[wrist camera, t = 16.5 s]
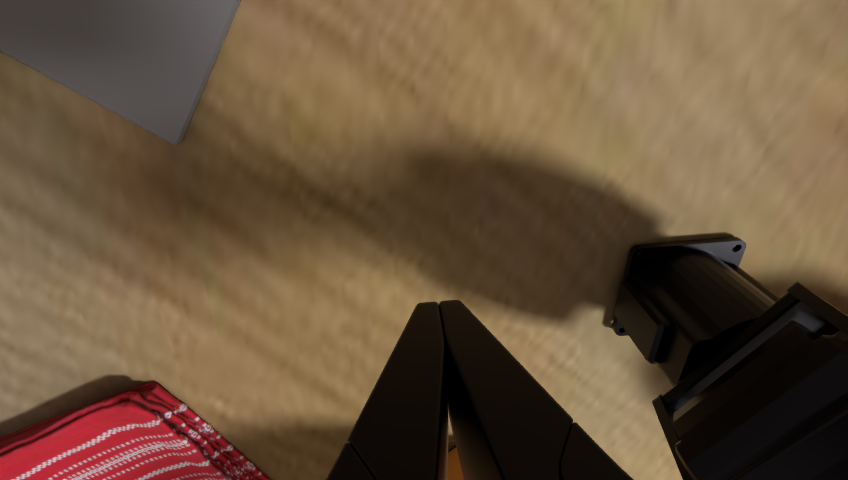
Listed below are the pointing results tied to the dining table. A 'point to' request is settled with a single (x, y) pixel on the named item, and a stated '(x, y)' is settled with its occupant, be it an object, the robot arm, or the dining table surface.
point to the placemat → (123, 52)
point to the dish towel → (124, 443)
